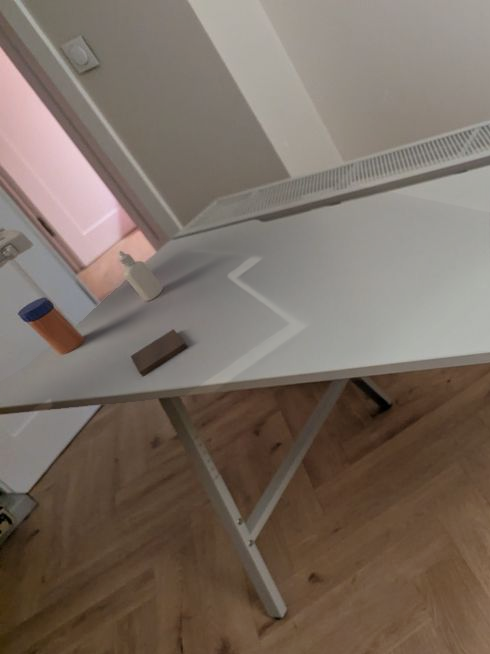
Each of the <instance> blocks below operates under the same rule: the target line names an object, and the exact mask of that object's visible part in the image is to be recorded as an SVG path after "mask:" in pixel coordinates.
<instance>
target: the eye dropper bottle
mask: <svg viewBox="0 0 490 654" xmlns="http://www.w3.org/2000/svg"><path fill="white" fill-rule="evenodd" d="M118 255H119V259H118V261H119V262H121V264H122V266H124V268H125V269H124V272H123V275H124V277H125V279H126V280H127V282H128V283H129V284H130V286H132V288H133V289H134V290H135V291H136V293H137V294H138V295H139V296H140V297H141V299H143V301H144V302H149V301H152V300H154V299H156V298H158V296H159V295H160V294H161V293H162V291H163V290H164V286H163V284H162V283H161V282H160V281H159V279H158V278H157V277H156V276H155V274H154V273H153V272H152V270H150V268H149V266H147V265H146V264H145V262H144V261H141V260H138V261H136V260H135V259H134V258H133V257H132V255H131V254H129V253H125V252H124V251H123V250H119V251H118Z"/></svg>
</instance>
